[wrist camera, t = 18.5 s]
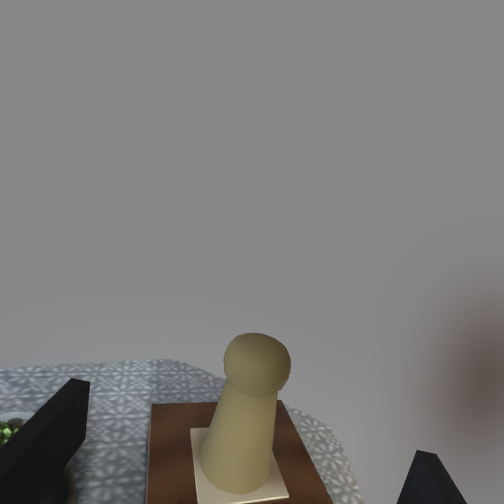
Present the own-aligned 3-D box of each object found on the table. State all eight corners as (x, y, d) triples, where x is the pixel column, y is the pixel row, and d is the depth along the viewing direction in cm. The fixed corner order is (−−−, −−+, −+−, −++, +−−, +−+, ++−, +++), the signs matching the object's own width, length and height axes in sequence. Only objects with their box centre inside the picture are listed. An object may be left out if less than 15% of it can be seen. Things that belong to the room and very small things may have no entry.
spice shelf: (324, 550, 24) (338, 509, 23) (137, 588, 20) (145, 540, 19) (274, 429, 35) (281, 398, 35) (146, 437, 31) (151, 401, 30)
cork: (283, 460, 27) (314, 347, 24) (240, 512, 22) (273, 378, 19) (231, 419, 30) (253, 317, 28) (184, 456, 25) (205, 336, 23)
